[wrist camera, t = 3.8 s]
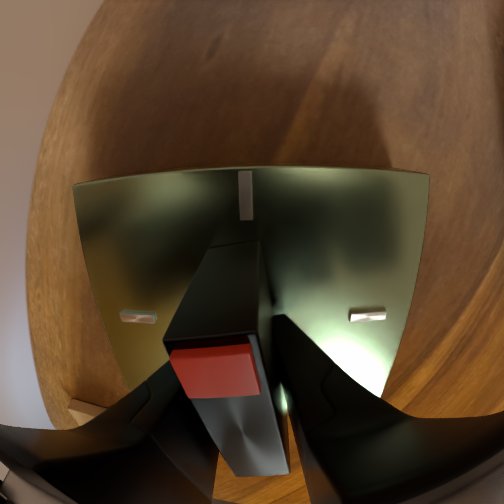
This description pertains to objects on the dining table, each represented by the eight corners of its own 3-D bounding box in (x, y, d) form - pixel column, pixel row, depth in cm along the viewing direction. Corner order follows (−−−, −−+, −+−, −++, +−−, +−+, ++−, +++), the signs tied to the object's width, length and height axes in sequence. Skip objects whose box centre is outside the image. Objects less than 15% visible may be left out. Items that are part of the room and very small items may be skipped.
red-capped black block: (283, 373, 10) (291, 481, 6) (243, 378, 10) (234, 484, 6) (259, 239, 8) (257, 340, 4) (207, 248, 8) (155, 349, 4)
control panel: (149, 359, 14) (130, 399, 11) (111, 175, 11) (69, 185, 8) (364, 358, 14) (381, 399, 11) (392, 167, 10) (433, 174, 7)
